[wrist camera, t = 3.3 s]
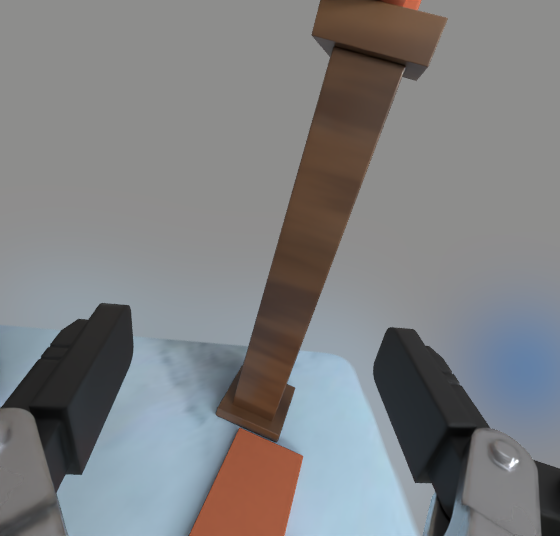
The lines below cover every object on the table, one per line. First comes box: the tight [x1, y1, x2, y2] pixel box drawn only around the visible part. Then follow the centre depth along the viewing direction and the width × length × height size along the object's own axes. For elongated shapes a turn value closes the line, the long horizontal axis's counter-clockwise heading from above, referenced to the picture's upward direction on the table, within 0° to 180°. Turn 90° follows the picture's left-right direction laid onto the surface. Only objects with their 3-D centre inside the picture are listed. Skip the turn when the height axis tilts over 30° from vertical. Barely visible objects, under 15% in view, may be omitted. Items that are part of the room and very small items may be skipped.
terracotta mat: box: [189, 428, 303, 536], centre depth 24 cm, size 13×6×1 cm, turn 162°
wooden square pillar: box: [216, 0, 448, 442], centre depth 26 cm, size 6×6×32 cm
